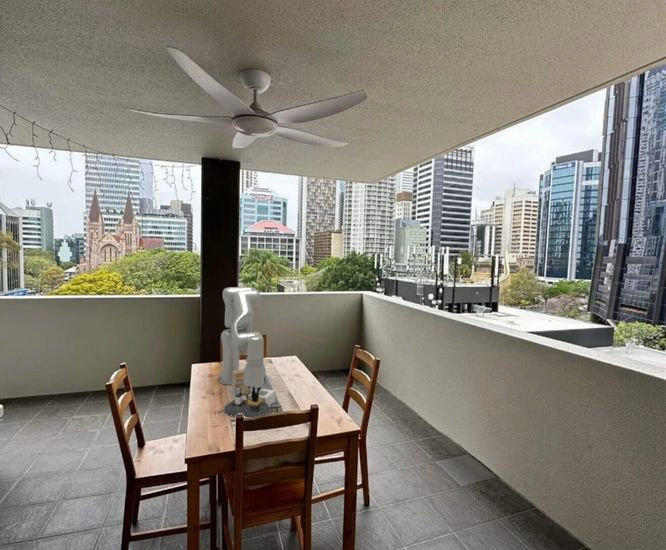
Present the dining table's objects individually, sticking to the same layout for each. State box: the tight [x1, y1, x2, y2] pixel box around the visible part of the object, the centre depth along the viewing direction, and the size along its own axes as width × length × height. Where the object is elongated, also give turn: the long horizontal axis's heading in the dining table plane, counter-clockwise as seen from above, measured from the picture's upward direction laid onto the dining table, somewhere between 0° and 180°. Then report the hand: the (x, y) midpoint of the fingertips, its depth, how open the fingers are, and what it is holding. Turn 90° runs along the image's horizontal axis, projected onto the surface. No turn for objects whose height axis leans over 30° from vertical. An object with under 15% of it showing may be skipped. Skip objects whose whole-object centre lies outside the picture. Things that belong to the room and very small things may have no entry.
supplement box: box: [231, 368, 250, 397], centre depth 185 cm, size 8×5×13 cm, turn 122°
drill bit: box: [234, 386, 243, 406], centre depth 165 cm, size 4×4×12 cm
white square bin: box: [247, 388, 276, 408], centre depth 173 cm, size 10×10×6 cm
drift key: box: [247, 398, 262, 409], centre depth 162 cm, size 5×5×5 cm
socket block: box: [223, 398, 269, 418], centre depth 164 cm, size 18×10×4 cm, turn 72°
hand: (255, 399), depth 162 cm, fingers closed
